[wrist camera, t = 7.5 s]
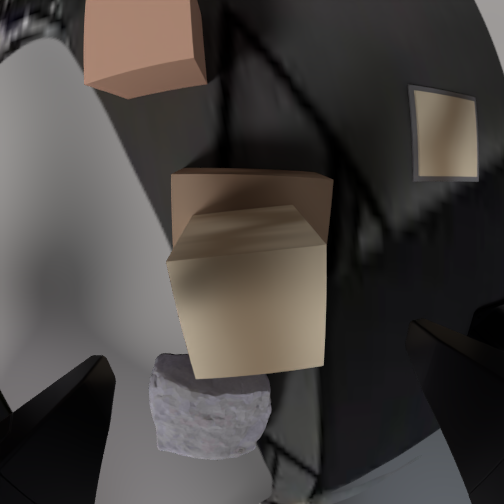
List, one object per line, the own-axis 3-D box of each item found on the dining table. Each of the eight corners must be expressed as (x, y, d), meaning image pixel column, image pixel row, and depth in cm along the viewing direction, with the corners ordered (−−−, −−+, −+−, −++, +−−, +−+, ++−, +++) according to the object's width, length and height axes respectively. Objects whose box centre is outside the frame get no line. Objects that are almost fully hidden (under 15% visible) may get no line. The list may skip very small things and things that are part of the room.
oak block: (292, 204, 15) (326, 244, 9) (297, 293, 17) (323, 365, 11) (192, 215, 15) (166, 261, 9) (207, 303, 17) (196, 378, 11)
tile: (473, 97, 16) (477, 97, 16) (476, 181, 18) (480, 182, 18) (406, 84, 16) (410, 83, 16) (412, 181, 18) (415, 181, 18)
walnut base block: (313, 171, 18) (333, 179, 15) (302, 287, 21) (316, 318, 17) (184, 167, 18) (171, 174, 14) (187, 286, 21) (178, 317, 17)
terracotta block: (201, 15, 14) (187, -31, 8) (207, 84, 16) (193, 57, 10) (125, 31, 14) (86, -3, 8) (128, 99, 16) (84, 84, 10)
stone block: (267, 342, 25) (145, 346, 22) (286, 383, 20) (144, 392, 18) (250, 422, 29) (157, 428, 26) (262, 458, 25) (160, 466, 22)
